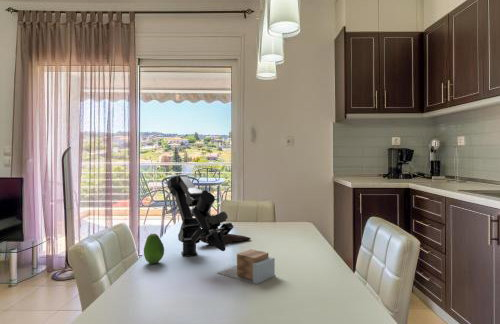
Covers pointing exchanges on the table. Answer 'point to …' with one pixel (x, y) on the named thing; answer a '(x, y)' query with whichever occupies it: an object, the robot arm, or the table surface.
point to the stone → (229, 238)
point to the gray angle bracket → (255, 271)
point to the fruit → (153, 249)
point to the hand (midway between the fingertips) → (224, 250)
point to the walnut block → (248, 262)
